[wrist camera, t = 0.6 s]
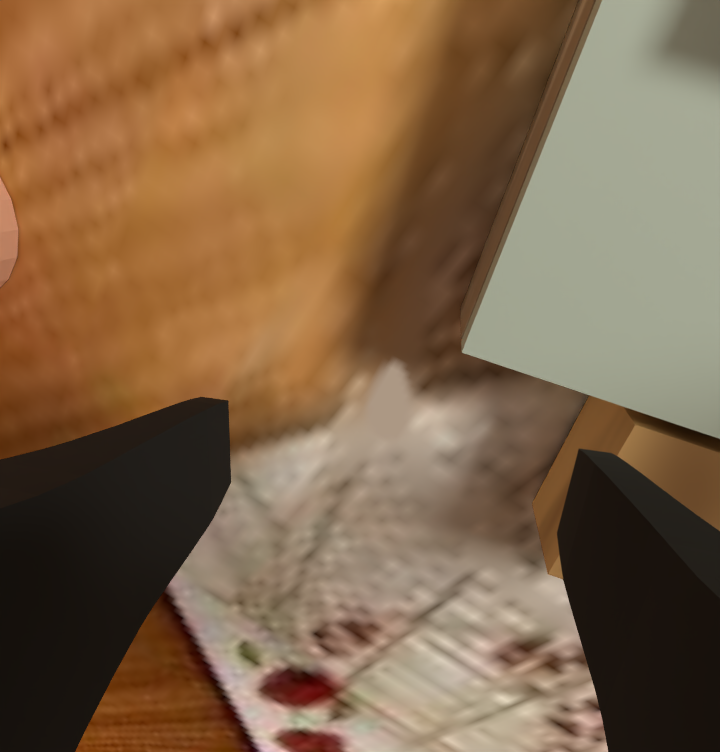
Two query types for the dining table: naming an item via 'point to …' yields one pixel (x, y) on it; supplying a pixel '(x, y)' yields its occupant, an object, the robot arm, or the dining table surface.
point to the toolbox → (526, 156)
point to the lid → (621, 223)
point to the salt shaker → (7, 235)
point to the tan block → (643, 452)
